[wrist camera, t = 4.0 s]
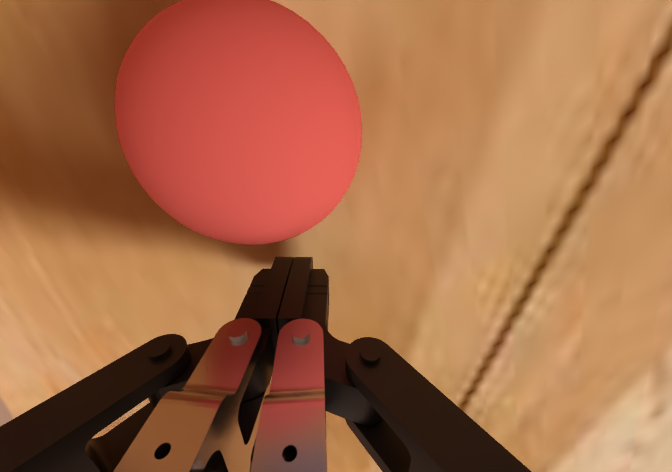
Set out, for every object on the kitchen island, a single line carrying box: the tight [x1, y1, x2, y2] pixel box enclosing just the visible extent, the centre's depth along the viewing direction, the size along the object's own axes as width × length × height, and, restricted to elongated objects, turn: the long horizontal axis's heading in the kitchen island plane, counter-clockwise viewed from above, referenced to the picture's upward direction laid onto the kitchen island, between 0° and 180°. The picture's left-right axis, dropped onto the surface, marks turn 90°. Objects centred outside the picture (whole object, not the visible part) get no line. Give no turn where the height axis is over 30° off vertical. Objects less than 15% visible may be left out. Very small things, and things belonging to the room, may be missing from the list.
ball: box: [115, 0, 362, 245], centre depth 8 cm, size 6×6×6 cm
